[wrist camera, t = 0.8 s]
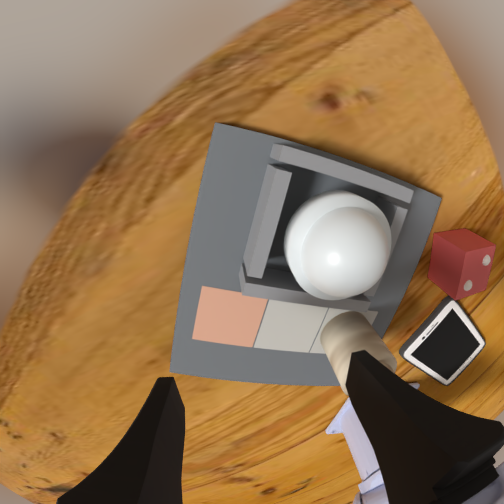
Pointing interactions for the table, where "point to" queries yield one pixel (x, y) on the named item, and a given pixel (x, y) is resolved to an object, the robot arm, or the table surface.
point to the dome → (337, 245)
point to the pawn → (352, 343)
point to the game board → (279, 260)
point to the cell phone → (444, 343)
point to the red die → (460, 262)
